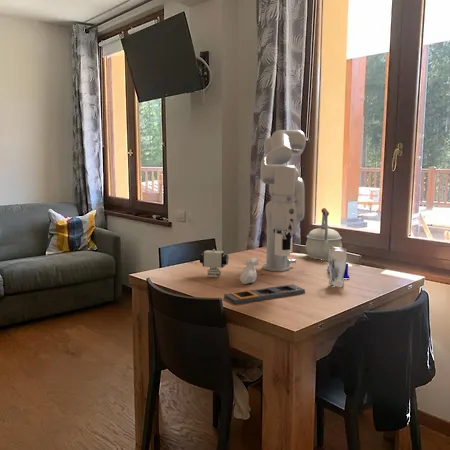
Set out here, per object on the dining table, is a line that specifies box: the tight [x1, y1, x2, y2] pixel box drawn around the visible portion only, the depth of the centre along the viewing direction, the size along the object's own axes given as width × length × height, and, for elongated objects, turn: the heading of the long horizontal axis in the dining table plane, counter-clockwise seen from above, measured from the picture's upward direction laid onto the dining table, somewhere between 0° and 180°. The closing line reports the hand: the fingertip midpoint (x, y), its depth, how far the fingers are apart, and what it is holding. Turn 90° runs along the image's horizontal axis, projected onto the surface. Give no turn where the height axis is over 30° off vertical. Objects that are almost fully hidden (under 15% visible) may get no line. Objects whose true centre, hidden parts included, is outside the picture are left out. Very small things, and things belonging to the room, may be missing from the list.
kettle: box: [305, 207, 343, 261], centre depth 229 cm, size 25×18×25 cm
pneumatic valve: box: [198, 248, 229, 278], centre depth 193 cm, size 6×12×12 cm, turn 77°
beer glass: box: [328, 247, 348, 288], centre depth 180 cm, size 7×7×15 cm
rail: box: [224, 283, 306, 305], centre depth 167 cm, size 30×8×2 cm, turn 117°
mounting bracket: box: [326, 263, 350, 279], centre depth 199 cm, size 18×7×6 cm, turn 173°
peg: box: [275, 233, 291, 257], centre depth 167 cm, size 4×4×8 cm
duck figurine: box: [239, 257, 259, 285], centre depth 185 cm, size 12×8×11 cm
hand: (282, 248), depth 168 cm, fingers closed on peg, 3 cm apart
